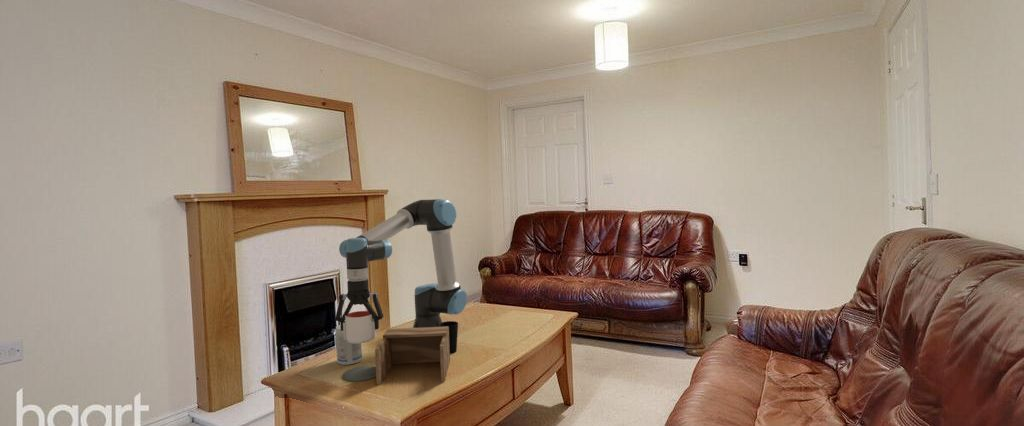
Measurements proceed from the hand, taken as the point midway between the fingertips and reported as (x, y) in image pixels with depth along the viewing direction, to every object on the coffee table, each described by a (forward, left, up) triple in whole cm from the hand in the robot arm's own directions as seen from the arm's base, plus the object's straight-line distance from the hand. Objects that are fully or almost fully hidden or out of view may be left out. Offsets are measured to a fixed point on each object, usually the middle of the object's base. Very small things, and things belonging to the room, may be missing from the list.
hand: (360, 338), depth 183 cm
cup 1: (0, 0, -1) cm, 1 cm away
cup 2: (-22, +31, -14) cm, 41 cm away
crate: (0, +20, -14) cm, 24 cm away
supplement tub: (-15, -9, -14) cm, 22 cm away
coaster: (0, 0, -14) cm, 14 cm away
